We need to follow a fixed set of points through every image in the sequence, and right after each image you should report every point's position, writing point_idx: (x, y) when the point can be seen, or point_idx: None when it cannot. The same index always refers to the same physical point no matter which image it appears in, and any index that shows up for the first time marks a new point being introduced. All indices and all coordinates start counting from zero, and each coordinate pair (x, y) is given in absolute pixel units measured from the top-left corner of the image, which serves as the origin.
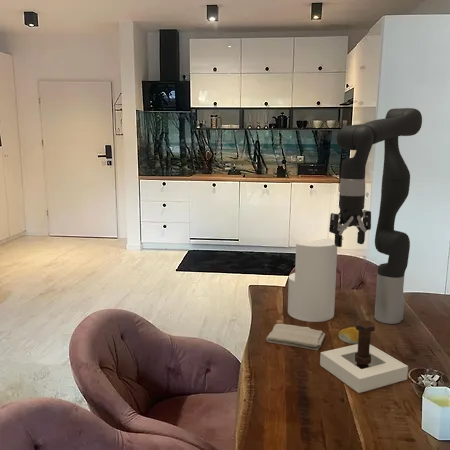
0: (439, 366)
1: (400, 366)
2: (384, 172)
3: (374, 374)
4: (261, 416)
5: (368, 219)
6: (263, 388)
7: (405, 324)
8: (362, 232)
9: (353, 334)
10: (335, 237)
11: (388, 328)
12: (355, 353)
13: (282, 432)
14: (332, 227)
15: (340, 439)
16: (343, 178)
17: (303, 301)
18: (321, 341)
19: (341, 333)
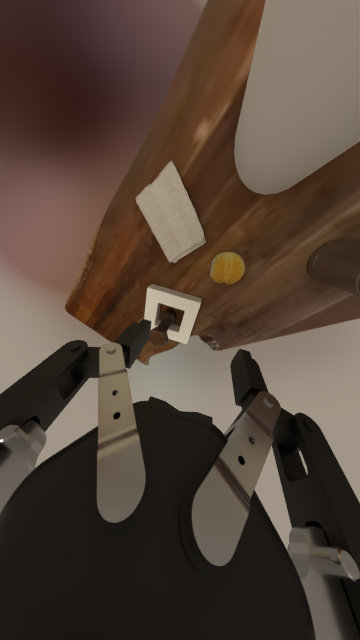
0: (226, 345)
1: (181, 341)
2: None
3: None
4: (81, 300)
5: (292, 518)
6: (93, 278)
7: (320, 287)
8: (243, 403)
9: (216, 278)
10: (118, 341)
11: (289, 280)
12: (163, 315)
13: (86, 317)
14: (64, 367)
15: (110, 337)
16: None
17: (241, 141)
18: (182, 256)
19: (214, 262)
